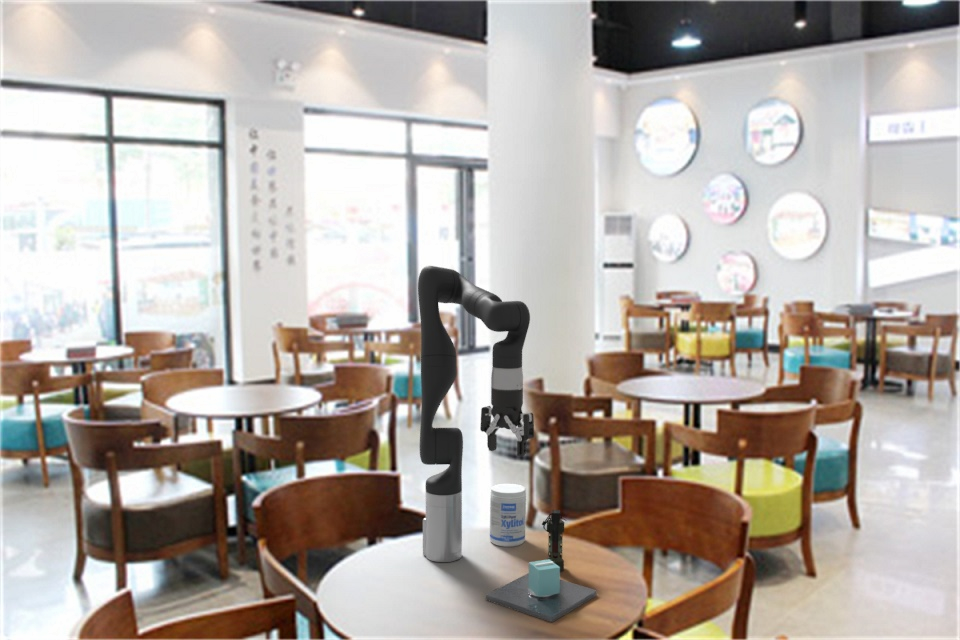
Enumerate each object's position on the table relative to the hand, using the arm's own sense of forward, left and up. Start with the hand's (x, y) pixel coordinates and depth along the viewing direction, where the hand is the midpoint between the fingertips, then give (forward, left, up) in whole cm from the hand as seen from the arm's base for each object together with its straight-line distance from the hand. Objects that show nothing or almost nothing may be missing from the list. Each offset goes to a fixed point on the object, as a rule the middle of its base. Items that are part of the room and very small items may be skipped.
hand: (506, 453), depth 206 cm
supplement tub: (-14, +19, -30) cm, 38 cm away
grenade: (+7, +10, -30) cm, 33 cm away
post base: (+14, -5, -30) cm, 34 cm away
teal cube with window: (+15, -5, -28) cm, 32 cm away
